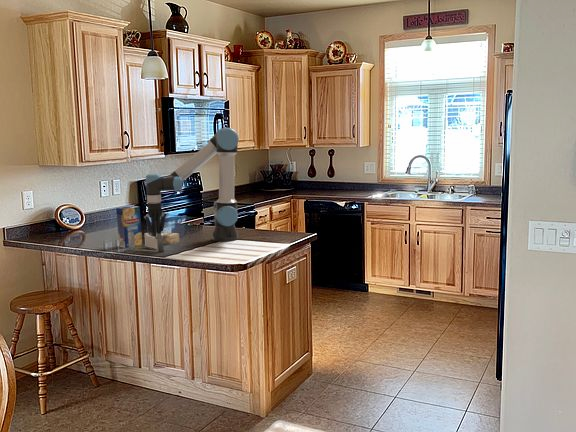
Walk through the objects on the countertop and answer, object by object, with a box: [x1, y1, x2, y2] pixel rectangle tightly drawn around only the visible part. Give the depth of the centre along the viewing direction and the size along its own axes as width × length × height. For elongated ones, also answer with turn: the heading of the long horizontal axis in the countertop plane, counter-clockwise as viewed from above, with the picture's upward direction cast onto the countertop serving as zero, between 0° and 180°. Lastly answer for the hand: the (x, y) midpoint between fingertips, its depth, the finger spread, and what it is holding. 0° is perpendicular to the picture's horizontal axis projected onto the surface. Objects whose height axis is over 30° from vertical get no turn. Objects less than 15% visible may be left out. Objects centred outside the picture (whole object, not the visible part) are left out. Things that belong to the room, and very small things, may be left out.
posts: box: [133, 232, 165, 253], centre depth 315 cm, size 19×3×10 cm, turn 69°
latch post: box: [128, 232, 136, 252], centre depth 319 cm, size 2×3×10 cm, turn 159°
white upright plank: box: [143, 232, 158, 250], centre depth 319 cm, size 15×2×7 cm, turn 39°
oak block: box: [163, 232, 180, 245], centre depth 338 cm, size 8×8×5 cm
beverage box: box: [115, 205, 143, 249], centre depth 330 cm, size 7×11×22 cm, turn 138°
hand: (157, 244), depth 323 cm, fingers closed
